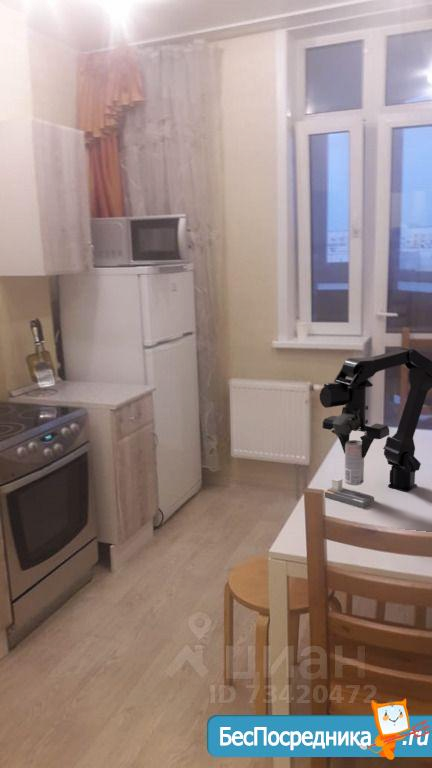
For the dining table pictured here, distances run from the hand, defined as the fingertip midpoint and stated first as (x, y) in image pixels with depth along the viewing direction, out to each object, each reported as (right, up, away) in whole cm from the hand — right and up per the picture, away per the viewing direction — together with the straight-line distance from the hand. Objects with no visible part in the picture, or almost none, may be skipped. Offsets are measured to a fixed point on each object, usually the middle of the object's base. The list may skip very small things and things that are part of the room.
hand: (354, 455), depth 176 cm
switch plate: (-1, -13, +1) cm, 13 cm away
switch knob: (-4, -11, +4) cm, 12 cm away
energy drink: (0, -8, +2) cm, 8 cm away
